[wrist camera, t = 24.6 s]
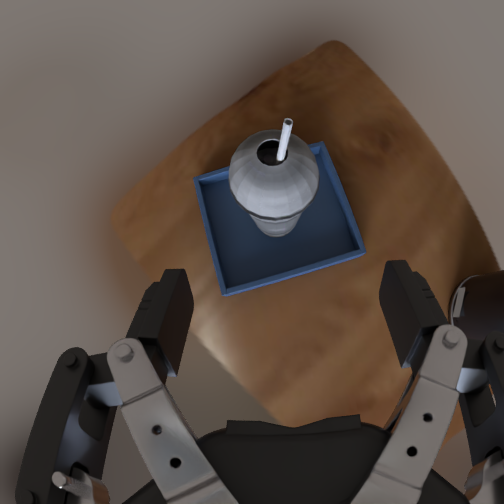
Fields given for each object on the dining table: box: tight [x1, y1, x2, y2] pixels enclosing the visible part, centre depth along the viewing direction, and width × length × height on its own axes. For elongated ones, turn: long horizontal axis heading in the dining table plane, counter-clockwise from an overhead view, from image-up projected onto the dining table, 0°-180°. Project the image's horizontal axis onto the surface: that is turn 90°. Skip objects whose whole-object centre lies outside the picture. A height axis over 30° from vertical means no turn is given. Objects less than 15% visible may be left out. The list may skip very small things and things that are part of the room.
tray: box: [193, 141, 366, 296], centre depth 33 cm, size 16×14×2 cm
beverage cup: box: [228, 118, 320, 238], centre depth 24 cm, size 7×7×20 cm
